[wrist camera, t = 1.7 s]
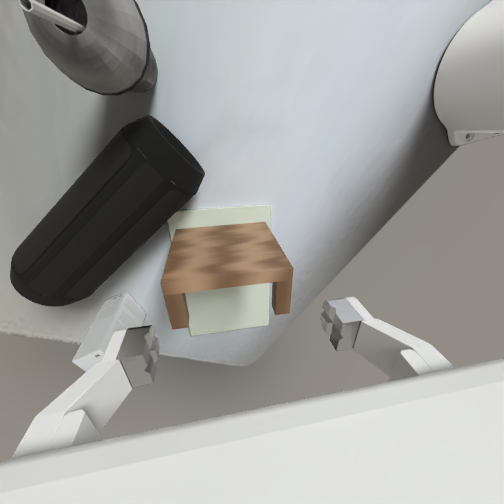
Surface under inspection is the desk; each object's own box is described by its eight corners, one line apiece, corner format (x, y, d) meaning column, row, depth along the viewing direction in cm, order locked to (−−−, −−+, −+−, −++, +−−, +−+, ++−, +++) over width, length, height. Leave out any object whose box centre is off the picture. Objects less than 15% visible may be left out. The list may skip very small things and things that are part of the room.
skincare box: (104, 299, 40) (69, 361, 30) (127, 290, 40) (99, 348, 29) (126, 322, 43) (101, 385, 33) (147, 313, 43) (128, 373, 33)
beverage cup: (156, 18, 25) (42, -225, 7) (179, 99, 28) (137, 61, 11) (87, 30, 24) (-207, -200, 7) (119, 111, 28) (-22, 90, 11)
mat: (270, 204, 37) (271, 205, 36) (268, 323, 49) (268, 324, 49) (166, 211, 35) (165, 212, 34) (191, 334, 47) (191, 336, 47)
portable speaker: (98, 280, 38) (67, 325, 30) (34, 241, 34) (-26, 282, 25) (209, 171, 33) (211, 188, 24) (151, 109, 29) (128, 103, 20)
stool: (265, 221, 38) (293, 268, 25) (264, 257, 41) (289, 312, 29) (175, 229, 36) (160, 283, 23) (182, 265, 39) (172, 329, 27)
